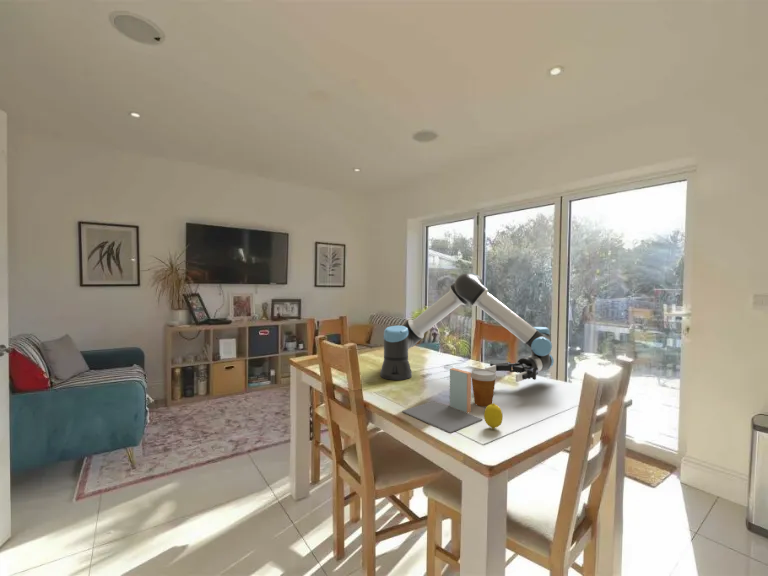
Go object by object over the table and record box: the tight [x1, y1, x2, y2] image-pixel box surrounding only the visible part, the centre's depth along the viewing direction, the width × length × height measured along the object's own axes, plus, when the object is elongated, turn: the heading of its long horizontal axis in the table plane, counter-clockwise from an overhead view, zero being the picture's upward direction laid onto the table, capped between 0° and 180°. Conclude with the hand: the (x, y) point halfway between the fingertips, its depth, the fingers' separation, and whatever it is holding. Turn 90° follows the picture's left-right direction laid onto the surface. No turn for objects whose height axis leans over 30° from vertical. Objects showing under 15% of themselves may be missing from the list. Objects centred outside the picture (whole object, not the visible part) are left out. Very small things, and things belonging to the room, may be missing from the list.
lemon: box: [483, 402, 504, 430], centre depth 111 cm, size 6×6×8 cm
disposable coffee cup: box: [470, 368, 498, 408], centre depth 133 cm, size 10×10×12 cm
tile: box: [449, 367, 472, 414], centre depth 127 cm, size 8×2×14 cm, turn 39°
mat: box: [402, 400, 483, 434], centre depth 121 cm, size 22×16×1 cm
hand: (500, 374), depth 139 cm, fingers open, 13 cm apart
